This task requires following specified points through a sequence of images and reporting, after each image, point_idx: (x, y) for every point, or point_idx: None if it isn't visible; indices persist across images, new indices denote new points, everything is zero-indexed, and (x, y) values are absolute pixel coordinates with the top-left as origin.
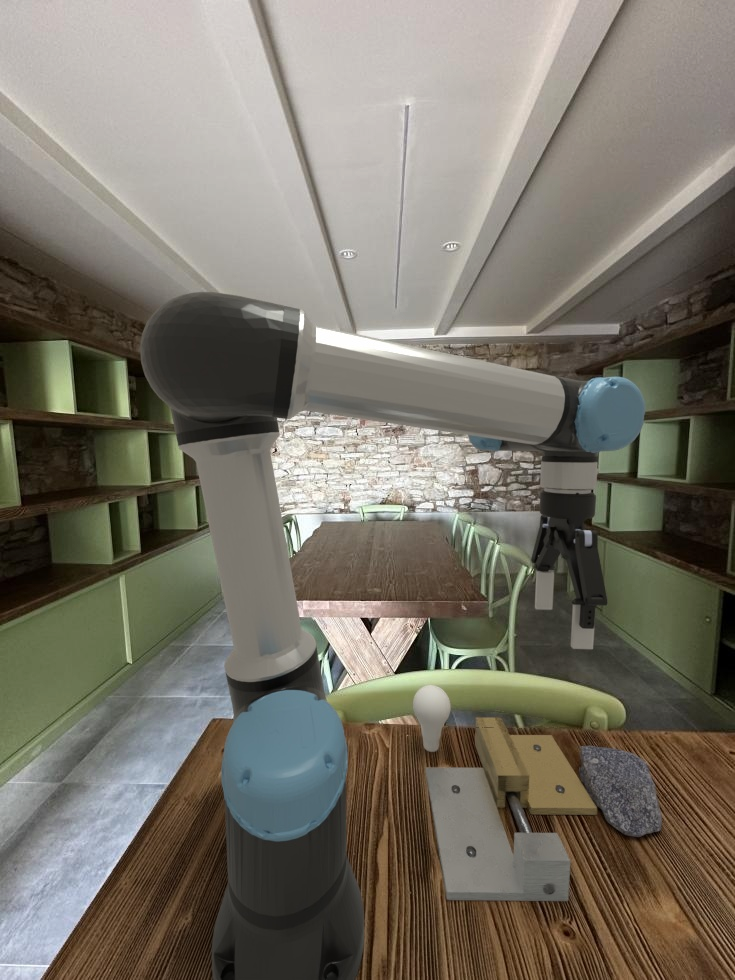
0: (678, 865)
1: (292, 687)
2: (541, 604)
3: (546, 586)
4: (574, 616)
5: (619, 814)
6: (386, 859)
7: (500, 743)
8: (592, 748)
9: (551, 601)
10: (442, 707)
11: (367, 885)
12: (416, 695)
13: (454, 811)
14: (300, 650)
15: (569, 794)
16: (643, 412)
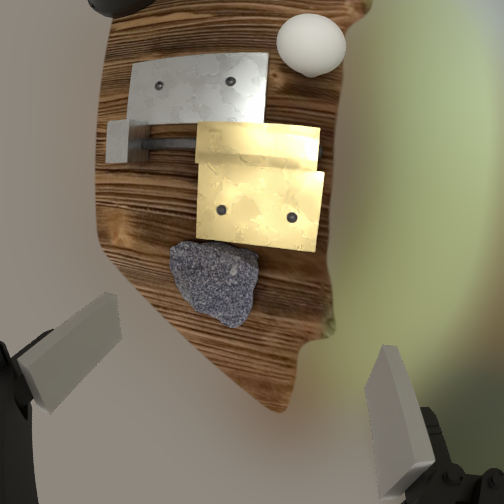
0: (154, 274)
1: None
2: (380, 371)
3: (385, 434)
4: (48, 336)
5: (182, 254)
6: (172, 19)
7: (255, 145)
8: (250, 280)
9: (369, 404)
10: (282, 49)
11: (155, 10)
12: (312, 14)
13: (202, 75)
14: None
15: (214, 217)
16: None
